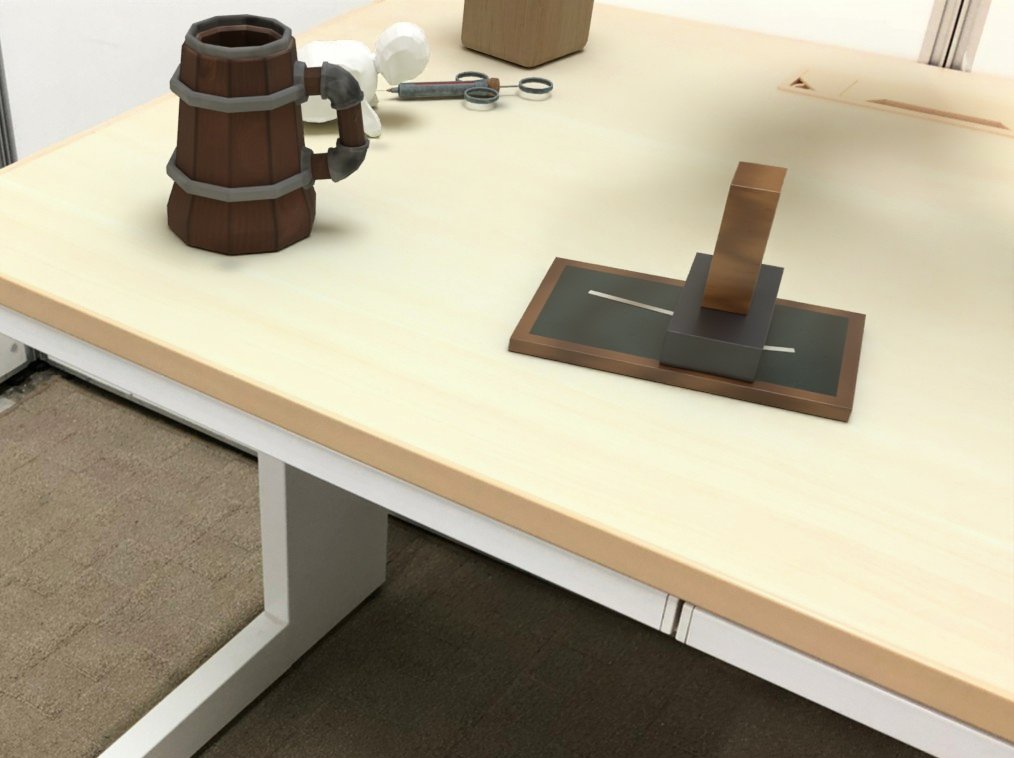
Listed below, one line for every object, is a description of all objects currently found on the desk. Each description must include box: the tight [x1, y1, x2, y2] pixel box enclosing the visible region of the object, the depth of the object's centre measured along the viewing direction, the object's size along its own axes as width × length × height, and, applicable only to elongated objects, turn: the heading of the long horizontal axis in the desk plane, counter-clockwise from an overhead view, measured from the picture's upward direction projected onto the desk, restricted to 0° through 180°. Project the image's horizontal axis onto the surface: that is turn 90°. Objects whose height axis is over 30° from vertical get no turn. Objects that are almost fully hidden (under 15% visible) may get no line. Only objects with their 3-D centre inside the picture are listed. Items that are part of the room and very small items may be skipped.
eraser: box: [659, 160, 788, 383], centre depth 81 cm, size 6×12×11 cm, turn 156°
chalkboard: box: [507, 256, 867, 423], centre depth 86 cm, size 22×13×1 cm, turn 66°
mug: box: [165, 13, 371, 255], centre depth 95 cm, size 16×12×15 cm
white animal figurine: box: [297, 21, 431, 138], centre depth 114 cm, size 9×8×15 cm
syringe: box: [377, 70, 554, 105], centre depth 121 cm, size 8×18×2 cm, turn 95°
